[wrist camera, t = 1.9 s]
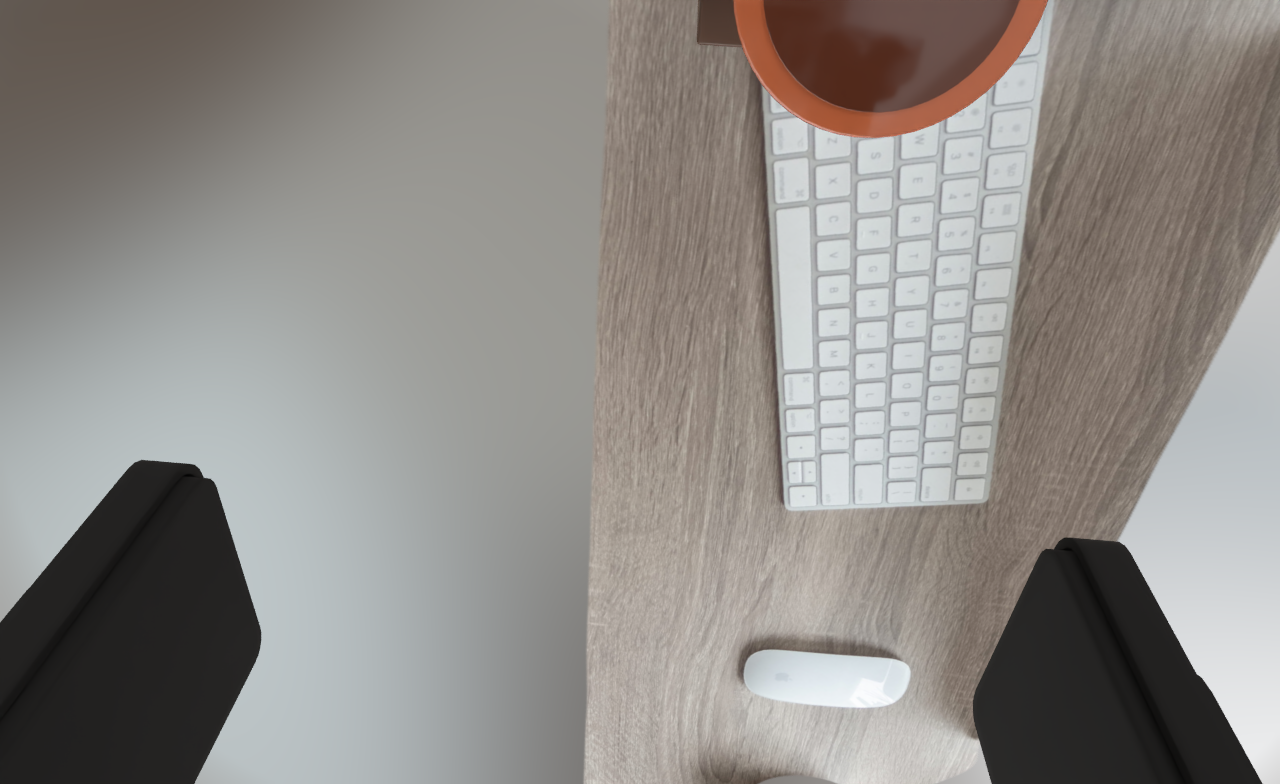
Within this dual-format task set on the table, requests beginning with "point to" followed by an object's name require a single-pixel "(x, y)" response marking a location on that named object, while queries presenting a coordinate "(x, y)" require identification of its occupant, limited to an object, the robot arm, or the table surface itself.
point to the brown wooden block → (717, 23)
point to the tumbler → (882, 57)
